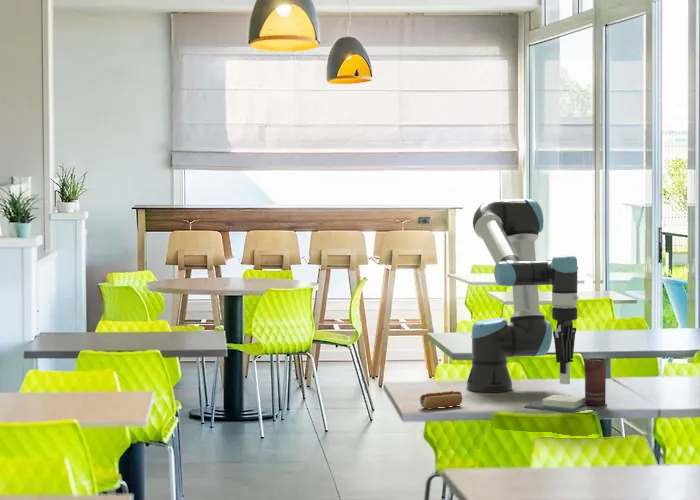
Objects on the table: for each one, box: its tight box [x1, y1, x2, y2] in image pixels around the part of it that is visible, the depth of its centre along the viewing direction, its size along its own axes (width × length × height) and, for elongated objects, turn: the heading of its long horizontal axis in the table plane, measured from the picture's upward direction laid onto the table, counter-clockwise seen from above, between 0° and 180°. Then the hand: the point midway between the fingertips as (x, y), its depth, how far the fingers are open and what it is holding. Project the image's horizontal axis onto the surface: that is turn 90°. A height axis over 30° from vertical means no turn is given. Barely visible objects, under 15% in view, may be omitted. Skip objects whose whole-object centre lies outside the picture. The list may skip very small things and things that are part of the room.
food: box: [419, 390, 463, 409], centre depth 327 cm, size 14×6×5 cm, turn 115°
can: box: [583, 358, 607, 407], centre depth 325 cm, size 6×6×14 cm
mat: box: [524, 397, 608, 413], centre depth 327 cm, size 20×16×1 cm
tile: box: [542, 394, 585, 410], centre depth 325 cm, size 10×2×9 cm
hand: (564, 383), depth 326 cm, fingers closed
